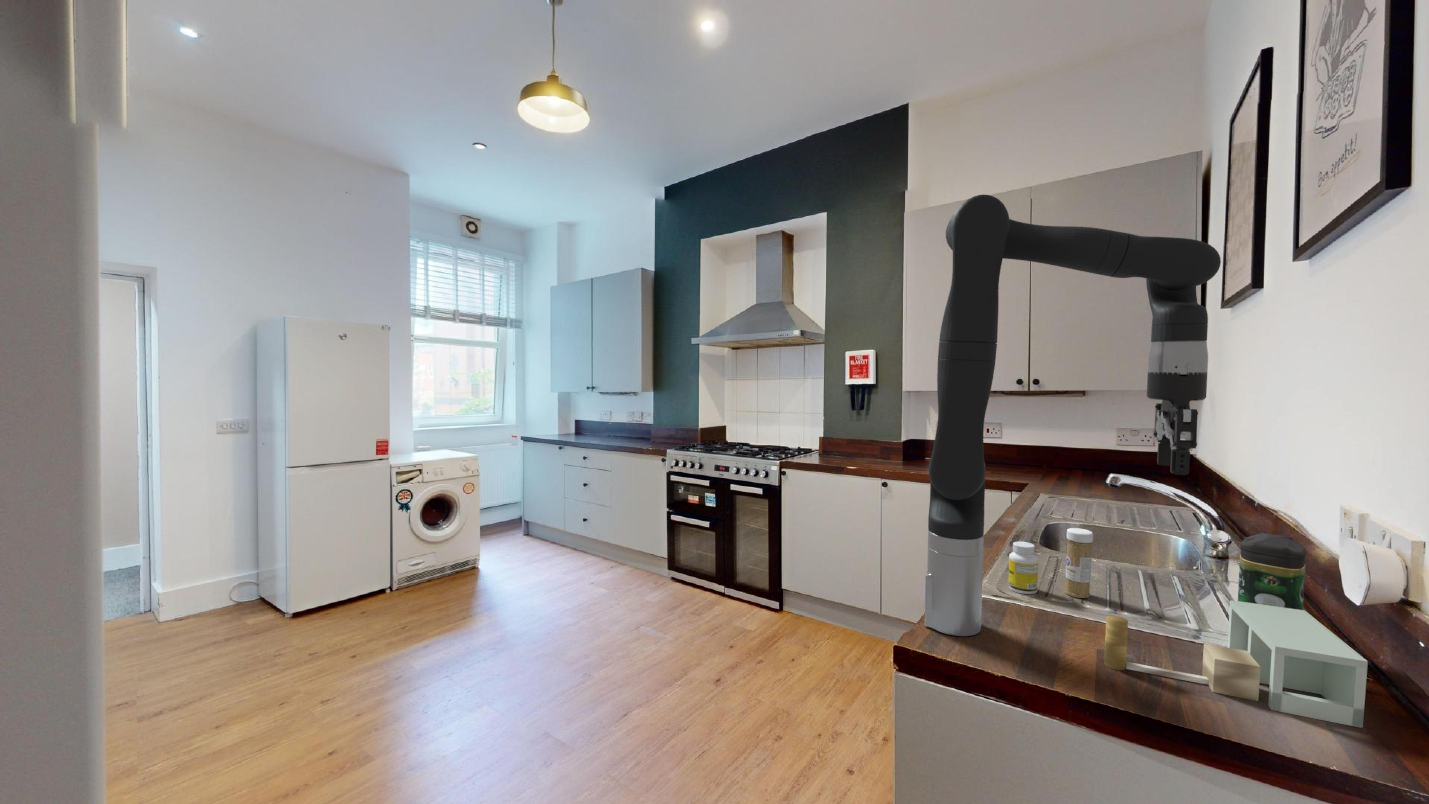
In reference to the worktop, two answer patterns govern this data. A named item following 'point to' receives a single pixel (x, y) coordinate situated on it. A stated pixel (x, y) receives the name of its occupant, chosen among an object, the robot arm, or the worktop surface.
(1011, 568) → the supplement bottle
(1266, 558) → the coffee jar
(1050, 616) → the worktop surface
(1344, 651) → the shelf cubby
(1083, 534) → the spice jar
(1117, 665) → the block
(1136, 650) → the worktop surface
